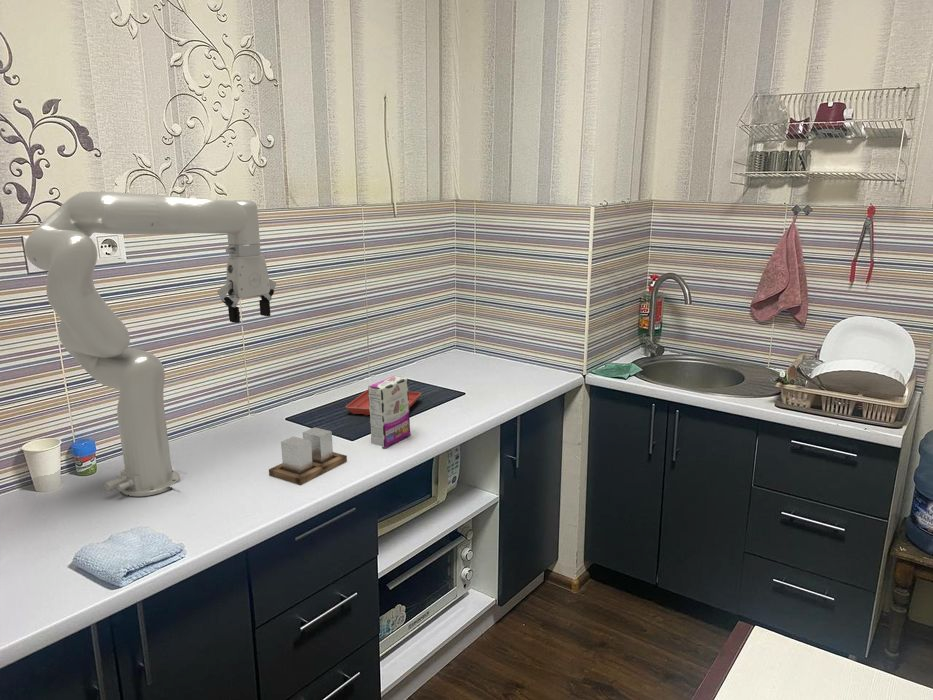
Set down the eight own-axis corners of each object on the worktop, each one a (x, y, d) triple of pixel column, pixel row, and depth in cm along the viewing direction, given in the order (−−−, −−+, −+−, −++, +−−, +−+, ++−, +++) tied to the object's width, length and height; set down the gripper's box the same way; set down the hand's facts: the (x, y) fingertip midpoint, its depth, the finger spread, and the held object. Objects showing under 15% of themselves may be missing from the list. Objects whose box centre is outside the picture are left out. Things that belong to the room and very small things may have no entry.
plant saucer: (344, 416, 201) (344, 406, 200) (368, 398, 218) (367, 388, 217) (403, 421, 197) (402, 411, 196) (422, 402, 214) (422, 392, 213)
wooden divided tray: (300, 489, 153) (299, 478, 153) (269, 479, 159) (268, 469, 158) (347, 465, 166) (346, 455, 166) (317, 456, 171) (316, 447, 171)
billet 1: (300, 479, 156) (298, 446, 154) (283, 474, 159) (280, 441, 157) (313, 473, 160) (310, 440, 158) (296, 468, 162) (293, 436, 160)
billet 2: (321, 468, 162) (319, 436, 160) (304, 463, 165) (302, 432, 163) (333, 462, 165) (331, 431, 163) (316, 457, 168) (314, 427, 166)
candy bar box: (396, 432, 188) (394, 374, 184) (410, 435, 185) (409, 377, 181) (369, 445, 178) (367, 385, 174) (384, 449, 176) (382, 388, 172)
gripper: (225, 255, 161) (232, 326, 165) (282, 249, 175) (286, 314, 179) (205, 253, 165) (212, 323, 169) (262, 247, 179) (267, 312, 183)
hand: (250, 318), depth 174 cm, fingers open, 9 cm apart
